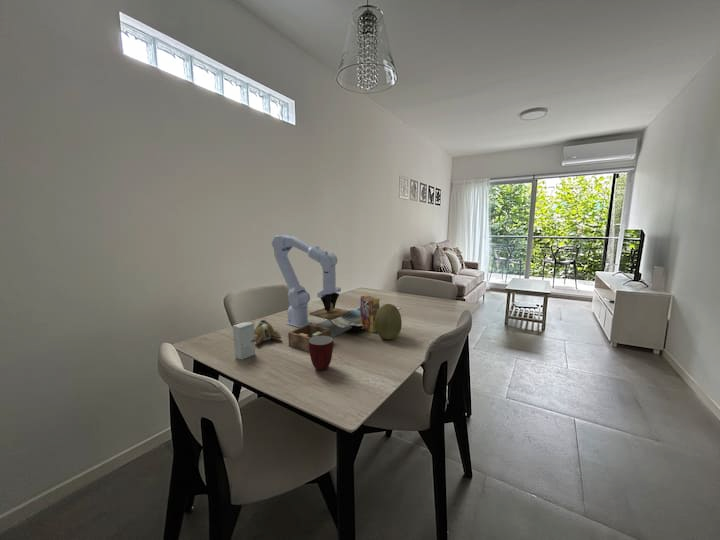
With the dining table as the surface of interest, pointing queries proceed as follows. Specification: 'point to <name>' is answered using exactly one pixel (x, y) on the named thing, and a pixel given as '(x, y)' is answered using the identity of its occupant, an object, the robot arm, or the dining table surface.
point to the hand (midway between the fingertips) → (329, 309)
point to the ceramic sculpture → (264, 331)
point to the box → (303, 341)
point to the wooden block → (330, 313)
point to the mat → (333, 328)
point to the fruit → (388, 321)
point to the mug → (321, 351)
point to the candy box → (369, 312)
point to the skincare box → (244, 340)
